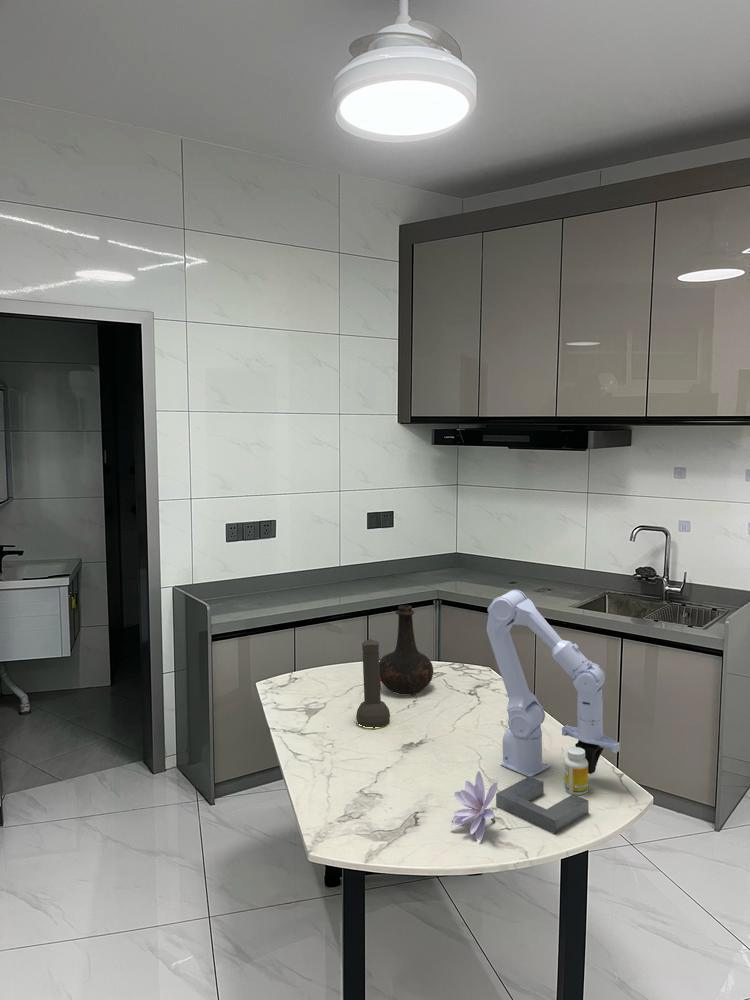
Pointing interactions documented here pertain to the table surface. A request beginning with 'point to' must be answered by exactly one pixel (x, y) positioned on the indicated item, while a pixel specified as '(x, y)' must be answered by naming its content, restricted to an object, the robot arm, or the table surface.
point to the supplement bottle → (576, 771)
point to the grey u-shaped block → (549, 819)
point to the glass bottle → (405, 660)
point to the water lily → (475, 806)
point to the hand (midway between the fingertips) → (590, 772)
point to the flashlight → (372, 689)
